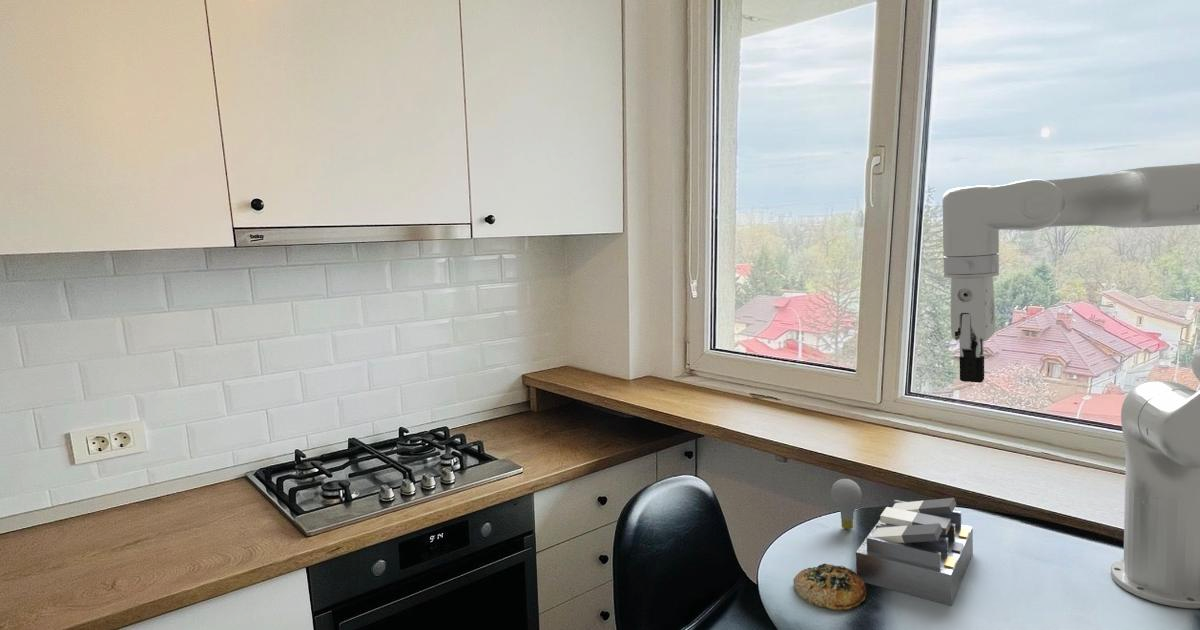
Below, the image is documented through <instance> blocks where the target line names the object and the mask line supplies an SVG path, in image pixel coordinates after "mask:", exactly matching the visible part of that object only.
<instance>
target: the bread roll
mask: <svg viewBox="0 0 1200 630" xmlns="http://www.w3.org/2000/svg"><path fill="white" fill-rule="evenodd" d="M792 580H793V584H794V587H795V588H794V592H795V593H796V594H797V595H798V596H799V598H801V599H802V600H804V601H805V602H807V603H808V604H810V605H812V606H815V607H820V608H827V609H830V610H832V611H838V612H839V611H848V610H852V609H854V608H856V607H858V606H859V605H861V603H863V602H864V601H865V600H866V596H867V595H868V594H867V588H866V585H865V583H864V582H863V580H862V579H861V578H860V577H859V576H858V575H857V572H856V571H854V570H853V569H851V568H848V567H845V566H844V565H833V564H827V563H823V564H818V566H814V567H807V568H805V569H803V570H800V571H799V572H798V573H797V574H796V575H795V577H794V578H793V579H792Z"/></svg>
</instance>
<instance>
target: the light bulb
mask: <svg viewBox="0 0 1200 630" xmlns="http://www.w3.org/2000/svg"><path fill="white" fill-rule="evenodd" d="M830 492H831V493H830V496H831V498H832V500H833V503H834V504H835V505H836V507H837V508H838V510H839V512H840V518H841V520H840V521H841V527H842V529H845V530H847V531H849V530H852V529H853V528H854V512H855V511H856V509H857V508H858V507H859V505H860V503H861V501H862V497H863V496H862V490H861V487H860V486H859V484H858V483H857V482H855V480H852V479H850V478H840V479H838V480H837V481H835V482H834V483H833V484H832V486H831V489H830Z"/></svg>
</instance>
